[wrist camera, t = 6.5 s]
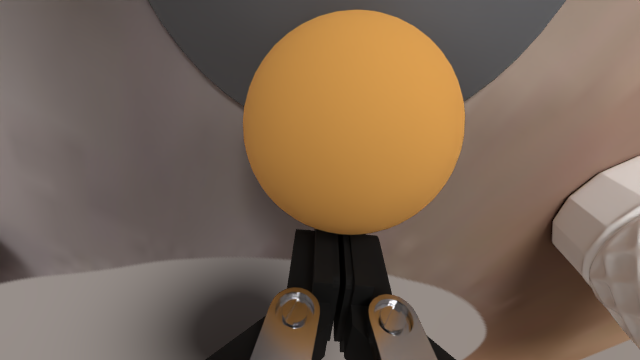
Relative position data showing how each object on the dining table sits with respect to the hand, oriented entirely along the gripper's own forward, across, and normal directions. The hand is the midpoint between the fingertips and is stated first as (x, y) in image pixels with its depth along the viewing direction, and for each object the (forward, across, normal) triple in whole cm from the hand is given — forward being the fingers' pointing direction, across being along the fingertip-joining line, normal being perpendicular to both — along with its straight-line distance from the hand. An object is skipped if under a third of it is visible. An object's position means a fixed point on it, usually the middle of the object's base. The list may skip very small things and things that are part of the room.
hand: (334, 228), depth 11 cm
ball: (-1, 0, -5) cm, 5 cm away
